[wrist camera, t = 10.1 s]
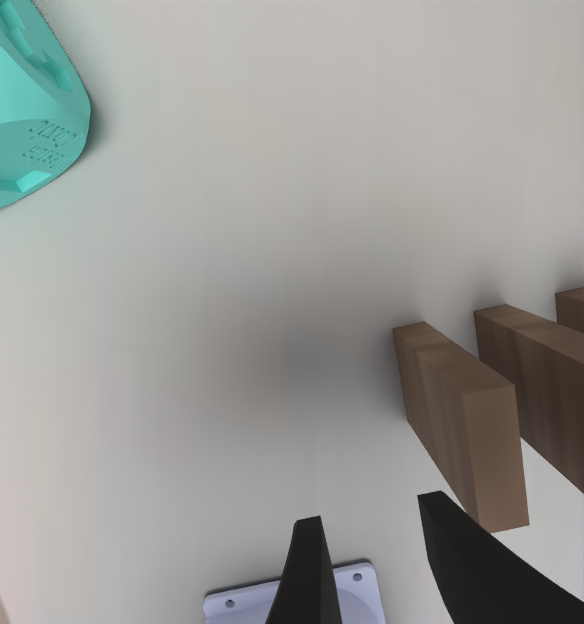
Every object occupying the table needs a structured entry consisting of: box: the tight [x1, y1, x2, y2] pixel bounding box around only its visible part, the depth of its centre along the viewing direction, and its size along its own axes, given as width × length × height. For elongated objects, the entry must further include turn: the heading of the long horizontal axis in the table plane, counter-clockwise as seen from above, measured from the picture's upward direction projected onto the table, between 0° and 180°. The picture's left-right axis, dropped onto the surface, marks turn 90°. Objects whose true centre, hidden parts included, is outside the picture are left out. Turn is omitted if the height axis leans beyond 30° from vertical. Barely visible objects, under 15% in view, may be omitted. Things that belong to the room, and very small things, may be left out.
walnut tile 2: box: [474, 304, 584, 494], centre depth 17 cm, size 2×5×8 cm, turn 12°
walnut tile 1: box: [393, 322, 529, 533], centre depth 17 cm, size 2×5×8 cm, turn 12°
